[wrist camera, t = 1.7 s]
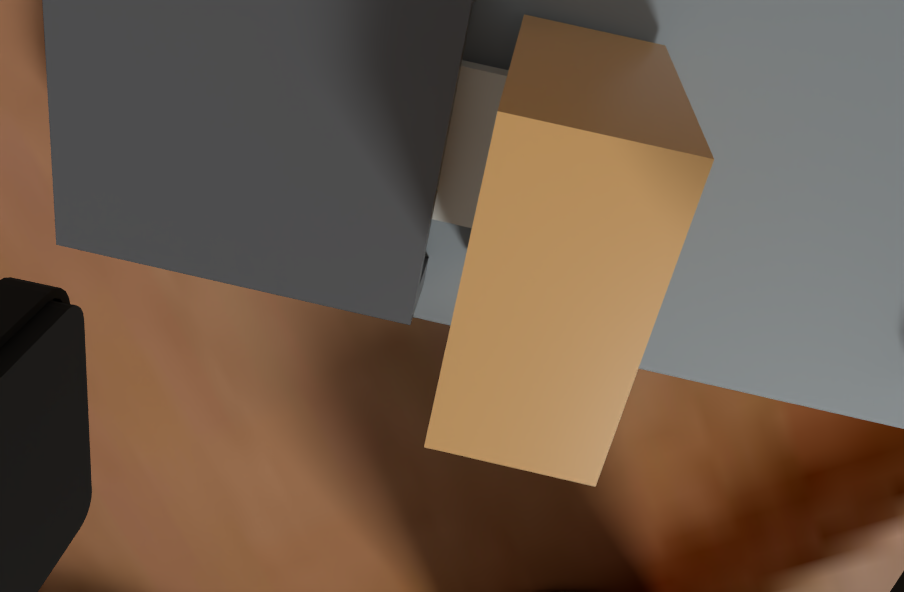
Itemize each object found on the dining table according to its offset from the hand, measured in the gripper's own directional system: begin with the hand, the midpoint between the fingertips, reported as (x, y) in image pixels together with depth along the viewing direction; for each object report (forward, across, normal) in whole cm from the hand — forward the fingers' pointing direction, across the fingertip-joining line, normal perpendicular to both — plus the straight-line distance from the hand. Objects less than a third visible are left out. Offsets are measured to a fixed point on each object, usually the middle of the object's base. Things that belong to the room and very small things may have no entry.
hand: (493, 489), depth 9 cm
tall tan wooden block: (+11, +3, 0) cm, 12 cm away
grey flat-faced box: (+12, +6, 0) cm, 13 cm away
